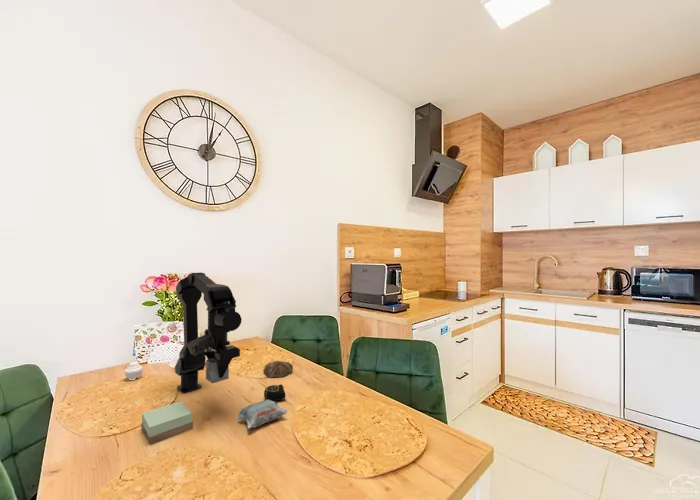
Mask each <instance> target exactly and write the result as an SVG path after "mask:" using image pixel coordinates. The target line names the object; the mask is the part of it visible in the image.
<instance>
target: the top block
mask: <svg viewBox="0 0 700 500" xmlns="http://www.w3.org/2000/svg"><path fill="white" fill-rule="evenodd" d="M192 414H193V413H192V412H191V410H190V409H189V408H188V407H187V406H186V404H185V403H184V402H183V401H178V402H175V403H171V404H168V405H165V406H161V407H158V408H155V409H152V410H149V411H145V412H142V413H141V424H142V423H143V425H144V427H145V429H146V431H147V433H148V435H149V437H152V436H155V435H157V434H160V433H163V432H166V431H169V430H171V429H174V428H177V427H180V426H182V425H185V424H188V423H191V422H192V421H193V417H192Z"/></svg>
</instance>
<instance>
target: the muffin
mask: <svg viewBox="0 0 700 500" xmlns="http://www.w3.org/2000/svg"><path fill="white" fill-rule="evenodd" d="M143 371H144V368H143V366H142V365H141V363H140V362H139V361H137V360H136V361H131V362H130V363H128V366H127V367H126V368H125V370H124V372H123V373H124V375H125V377H126V379H127V378H128V379H134V378H138V377H139V378H140V376H141V374H142V372H143ZM139 378H138V379H139ZM128 379H127V380H128Z"/></svg>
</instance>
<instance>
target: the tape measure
mask: <svg viewBox="0 0 700 500" xmlns="http://www.w3.org/2000/svg"><path fill="white" fill-rule="evenodd" d="M284 388H285V387H284V386H283V384H272V385H268V386H267V387H265V389H264V390H263V391H264V392H263V397H264V400H271V401H274V402H278V401H283V400H284V399H285V398H286V392H285V391H286V390H285V389H284Z"/></svg>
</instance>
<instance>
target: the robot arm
mask: <svg viewBox="0 0 700 500" xmlns="http://www.w3.org/2000/svg"><path fill="white" fill-rule="evenodd" d="M175 292H176V293H175V294H177V299H178V301H179V302H180V303H181V305H182V311H183V312H182V315H183V347H182V348H181V350H180V351H179V353H178V359H177V361H176V364H175V366H174V372H175V374H176V375H178V377H180V385H179V386H177V390H179V391H180V392H181V393H182V394H186V393H189V392H192V391H196V390H198V389H201V388H202V385H201V384H200V383H199V371H203V370H205V367H206V360H208V359H214V360H215V361H216V362H217V368H218V375H219V378H222V377H223V376H224V374H225V372H226V370H227V368H228V366H229V365H230V364H231V362H232V360H233V359H234V358H239V357H240V356H241V349H240V348H239V347H237V346H234V345H233V344H231V341H229V340H228V333H230V332H233V331H236V330H237V329H239V328H240V326H241V325H242V317H241V315H240V313H239V312H237V311H236V308H237V305H236V303H237V301H236V299H235V297H234V295H233V292H232V290H231V287H229V286H228V285H225V284H222V283H221V284H219V283H216V282H215V281H214V280H212V279H210V277H208V276H207V274H206V273H205V272H191V273H189V274H188V275H187V276H185V277H184V278H182V279H180V280H179V281H178V283H177V284H176V287H175ZM202 294H203V301H204V302H205V304H206V307H207V308H206V311H207V329H205V330H204V333H203V335H201V336H199V322H198V321H199V320H198V303H199V301H200V300H201V298H202Z"/></svg>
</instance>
